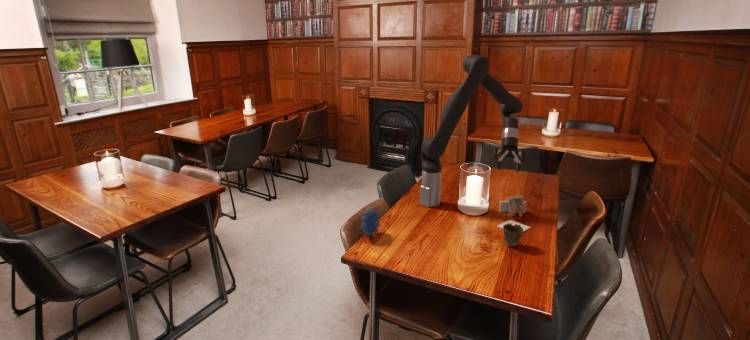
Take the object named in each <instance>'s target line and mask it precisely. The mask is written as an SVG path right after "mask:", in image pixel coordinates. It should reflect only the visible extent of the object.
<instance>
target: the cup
mask: <svg viewBox="0 0 750 340" xmlns="http://www.w3.org/2000/svg"><path fill="white" fill-rule="evenodd" d="M502 233H503V239H504V241H505V242H506V245H507V246H508V247H511V248H514V247H516V246H517V244H518V243H520V241H521V239H522V235H523V233H524V232H523V229H522V227H521V226H520V225H517V224H515V226H514V225H512V223H511V224H509V223H508V224H507V225H506V224H505V226H503V229H502Z"/></svg>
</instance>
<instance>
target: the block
mask: <svg viewBox="0 0 750 340" xmlns="http://www.w3.org/2000/svg"><path fill="white" fill-rule="evenodd" d="M524 204H525V210H526V209H527V201H526V200H524ZM515 208H516V213H519V211H518V205H517V204H515ZM498 211H499V213H509V207H508V200H500V201H499V207H498ZM526 211H527V210H526Z"/></svg>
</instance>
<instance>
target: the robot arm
mask: <svg viewBox="0 0 750 340" xmlns="http://www.w3.org/2000/svg"><path fill="white" fill-rule="evenodd" d="M462 67H463V71H464V72H465V73H466V74H467V76H466V77H465V79H464V81H463V83H462V84H461V85H460V86H459V87H458V88H457V89H456V90H454V92H453V93H451V94H450V95H449V97H448V99H447V101H446V103H445V104H444V106H443V109H442V111H441V116H440V121H439V125H438V129H437V130H436V132H435V134H434V136H427V137H426V138H425V139H424V140H423V141H422V143H421V147H420V149H421V151H420V152H421V154H420V155H421V156H420V159H421V161H420V162H421V166H422V167H421V169H422V170H421V185H420V189H419V205H422V206H425V207H427V208H431V207H434V208H435V207H438V206H439V205H440V203H441V190H442V189H441V187H442V169H443V168H442V164H441V159H440V158H441V157H443V155H444V154H445V152H446V149H447V147H448V144H449V143H450V139H451V137H452V135H453V133H454V132H455V130H456V128H457V125H458V124H459V122H460V120H461V118H462V116H463V115H464V112H465V111H466V108H467V107H468V105H469V103H470V101H471V99H472V98H473V96H474V94H475V92H476V90H477V89H478V88H479V85H481V86H482V88H483V89H484V90H486V92H487V93H488V94H489V95H490V96H491V97H492V98H493V100H494V101H495V102H496V103H497V104H499V105H500V108H499V109H500V114H501V118H502V132H501V148H498V147H496V148H494V150H493V158H492V160H493V162H496V169H497V171H501V165H502V164H501V163H502V162H501V161H503V159H505V160H513V161H514V162H515V163H516V167H515V168H516V170H515V172H516V173H519V172H520V171H521V165H523V164H524V163H526V155H525V154H526V152H525V150H522V151H521V150H520V151H519V149H518V148H519V120H518V118H516V117H513V115H516V114H519V113H521V112H523V109H524V105H523V102H522V100H521V99H520V98H518V97H517V96H515V95H514V94H512V93H510V92H509V91H508V90H507V89H506V87H505V86H504V85H503V84H502V83H501V82H499V80H497V79H496V78H494V77H493V76H492V75H491V74H490V73H488V72H489V69H490V60H489V58H488V57H486V56H483V55H479V54H469V55H468V56H466V57H465V58H464V59H463V61H462ZM499 153H500V155H501V156H500V157H499V158H498V154H499ZM518 155H519V156H520V159H519V157H518Z"/></svg>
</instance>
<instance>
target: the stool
mask: <svg viewBox="0 0 750 340" xmlns="http://www.w3.org/2000/svg"><path fill="white" fill-rule="evenodd" d="M507 201H508V207H509V212H508V213H509V217H514V214H517V212H516V208H515V204H517V205H518V211H519V212H518V216H519V217H521V218H522V217H524V216H523V214H526V213H527V210H525V204H524V201H525V199H524V195H510V196H509V198H508V199H507Z"/></svg>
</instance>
